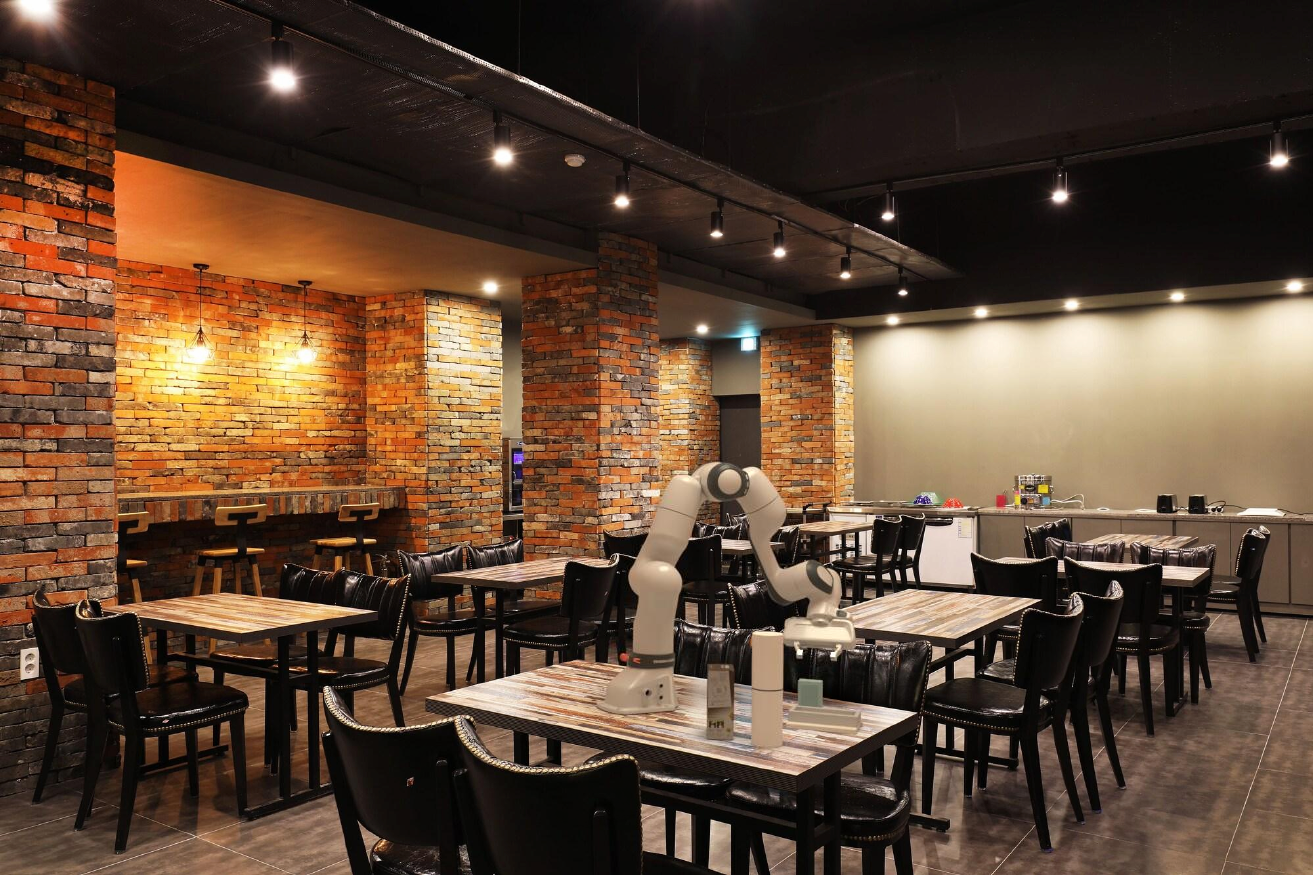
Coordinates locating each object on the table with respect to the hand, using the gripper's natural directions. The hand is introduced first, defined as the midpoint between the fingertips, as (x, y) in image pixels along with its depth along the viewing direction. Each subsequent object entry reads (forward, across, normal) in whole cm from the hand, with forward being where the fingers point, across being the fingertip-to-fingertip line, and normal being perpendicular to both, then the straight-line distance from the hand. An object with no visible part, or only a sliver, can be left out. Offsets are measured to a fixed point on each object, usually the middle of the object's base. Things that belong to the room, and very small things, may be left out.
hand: (816, 658), depth 260 cm
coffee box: (+39, -16, -21) cm, 47 cm away
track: (+25, +6, -7) cm, 26 cm away
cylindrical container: (+42, -4, -24) cm, 48 cm away
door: (+16, 0, +2) cm, 16 cm away
